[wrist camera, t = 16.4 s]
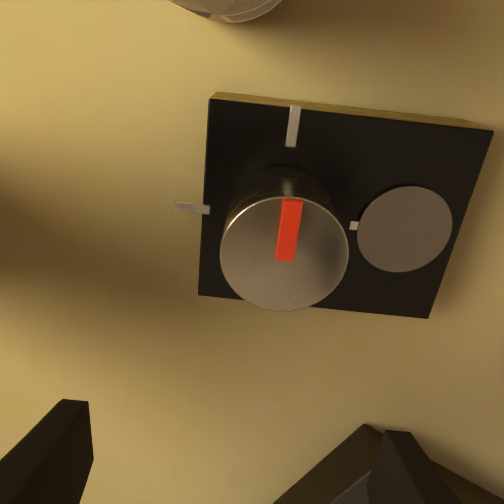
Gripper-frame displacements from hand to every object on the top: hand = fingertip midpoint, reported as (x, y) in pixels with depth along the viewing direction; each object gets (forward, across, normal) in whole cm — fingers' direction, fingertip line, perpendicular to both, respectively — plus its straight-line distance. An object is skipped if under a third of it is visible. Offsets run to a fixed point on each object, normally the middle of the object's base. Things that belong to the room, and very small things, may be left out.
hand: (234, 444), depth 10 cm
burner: (+8, -6, -3) cm, 10 cm away
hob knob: (+8, -1, -3) cm, 9 cm away
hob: (+10, -3, -3) cm, 11 cm away
